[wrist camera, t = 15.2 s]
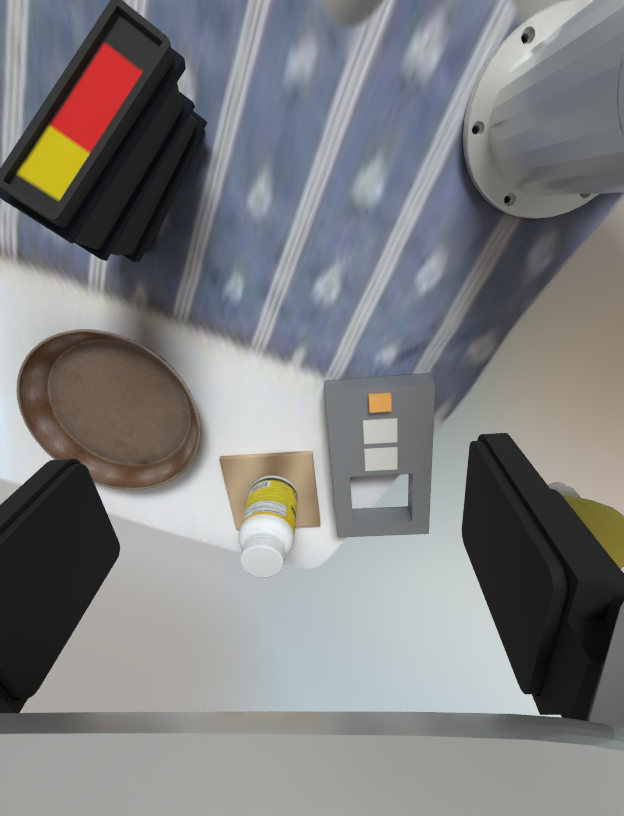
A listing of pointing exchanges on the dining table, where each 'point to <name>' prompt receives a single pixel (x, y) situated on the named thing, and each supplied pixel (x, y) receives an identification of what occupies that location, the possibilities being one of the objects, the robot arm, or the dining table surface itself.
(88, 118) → the magazine
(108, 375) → the plant saucer
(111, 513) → the dining table surface
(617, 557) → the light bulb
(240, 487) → the cork mat
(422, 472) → the grey panel with buttons
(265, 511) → the supplement bottle
